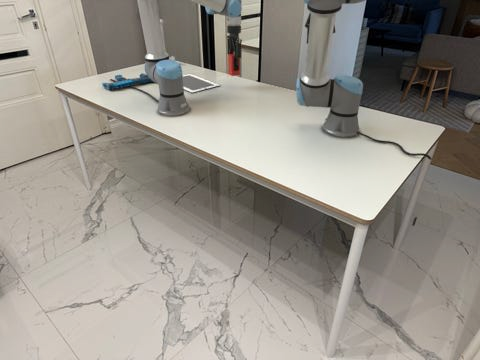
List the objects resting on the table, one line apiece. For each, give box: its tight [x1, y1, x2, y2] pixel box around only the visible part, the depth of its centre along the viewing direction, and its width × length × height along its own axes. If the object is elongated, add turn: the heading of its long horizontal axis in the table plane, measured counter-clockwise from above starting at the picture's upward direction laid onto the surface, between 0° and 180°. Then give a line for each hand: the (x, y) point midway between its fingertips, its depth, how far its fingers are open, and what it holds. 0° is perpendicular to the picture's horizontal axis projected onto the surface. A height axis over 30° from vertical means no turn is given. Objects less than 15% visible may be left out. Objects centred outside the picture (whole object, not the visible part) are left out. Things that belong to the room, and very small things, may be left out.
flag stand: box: [160, 18, 176, 61], centre depth 234 cm, size 13×13×30 cm
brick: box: [227, 54, 241, 77], centre depth 192 cm, size 5×5×11 cm
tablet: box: [182, 73, 221, 94], centre depth 207 cm, size 32×20×1 cm, turn 41°
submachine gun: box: [101, 73, 153, 91], centre depth 209 cm, size 34×4×25 cm
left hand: (234, 69), depth 193 cm, fingers closed on brick, 5 cm apart
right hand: (317, 45), depth 167 cm, fingers open, 13 cm apart
